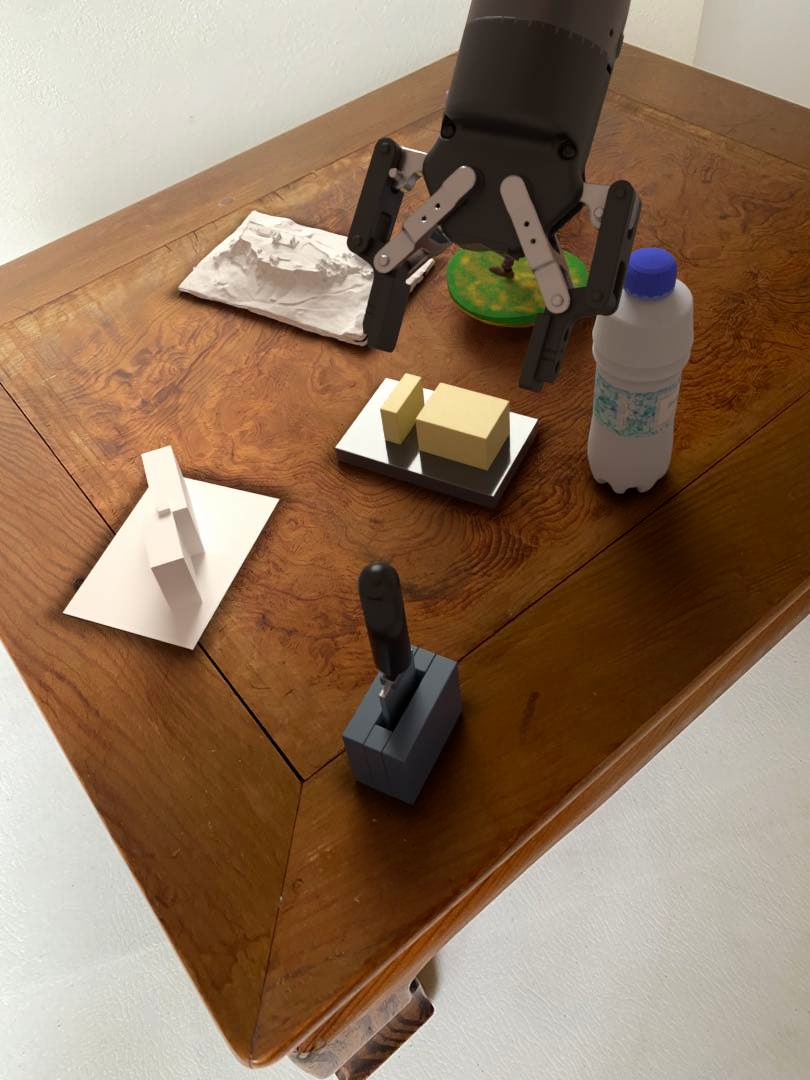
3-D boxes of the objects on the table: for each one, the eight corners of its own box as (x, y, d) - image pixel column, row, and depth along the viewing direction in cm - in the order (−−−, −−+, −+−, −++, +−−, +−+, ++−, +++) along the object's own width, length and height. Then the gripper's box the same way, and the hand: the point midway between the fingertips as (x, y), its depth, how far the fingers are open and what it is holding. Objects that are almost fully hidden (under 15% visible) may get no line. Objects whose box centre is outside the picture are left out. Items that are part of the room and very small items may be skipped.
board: (538, 432, 81) (538, 419, 80) (494, 509, 76) (493, 496, 75) (387, 390, 86) (385, 377, 85) (337, 460, 81) (334, 447, 80)
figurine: (617, 292, 92) (631, 139, 80) (545, 371, 86) (548, 219, 74) (492, 248, 98) (488, 100, 86) (416, 320, 92) (400, 171, 80)
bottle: (659, 512, 75) (695, 295, 59) (573, 492, 77) (585, 278, 61) (679, 450, 78) (717, 231, 63) (595, 433, 80) (612, 217, 65)
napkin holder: (157, 471, 82) (136, 421, 78) (280, 497, 79) (265, 447, 75) (61, 614, 74) (32, 568, 70) (195, 650, 71) (173, 604, 66)
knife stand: (462, 709, 66) (458, 661, 61) (413, 805, 62) (403, 762, 57) (406, 687, 67) (397, 639, 63) (354, 780, 63) (340, 735, 59)
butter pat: (425, 408, 82) (422, 376, 79) (400, 445, 80) (396, 413, 77) (409, 404, 83) (405, 372, 80) (384, 440, 80) (379, 408, 77)
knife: (436, 727, 65) (411, 550, 51) (412, 774, 63) (378, 603, 49) (407, 715, 66) (373, 538, 51) (382, 761, 64) (339, 589, 49)
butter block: (510, 432, 79) (509, 400, 77) (487, 471, 77) (486, 439, 74) (442, 413, 81) (440, 381, 79) (418, 450, 79) (414, 418, 76)
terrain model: (382, 362, 90) (377, 318, 86) (164, 310, 96) (151, 267, 92) (446, 254, 99) (444, 210, 95) (243, 213, 105) (234, 170, 101)
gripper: (380, -7, 47) (300, 329, 50) (673, 29, 42) (565, 400, 45) (436, 54, 54) (363, 346, 57) (694, 91, 49) (599, 409, 52)
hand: (452, 369), depth 51 cm, fingers open, 8 cm apart
